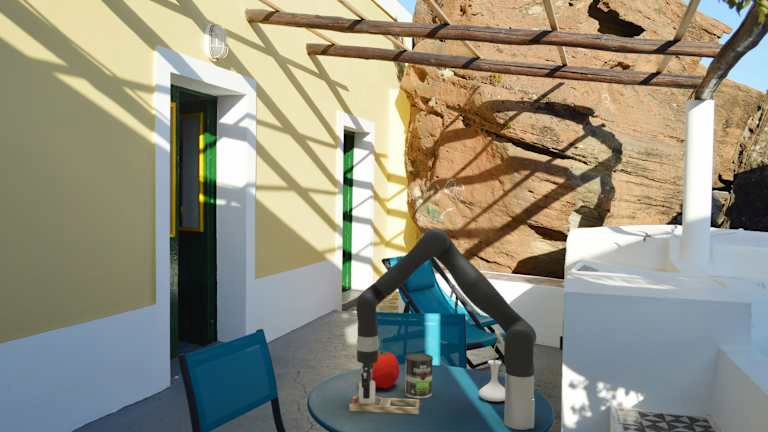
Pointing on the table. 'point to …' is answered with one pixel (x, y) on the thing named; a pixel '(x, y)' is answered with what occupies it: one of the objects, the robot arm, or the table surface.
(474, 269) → the robot arm
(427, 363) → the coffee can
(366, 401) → the eye dropper bottle
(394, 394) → the table surface
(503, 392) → the flower in vase
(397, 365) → the tomato
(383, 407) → the rail
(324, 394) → the table surface
